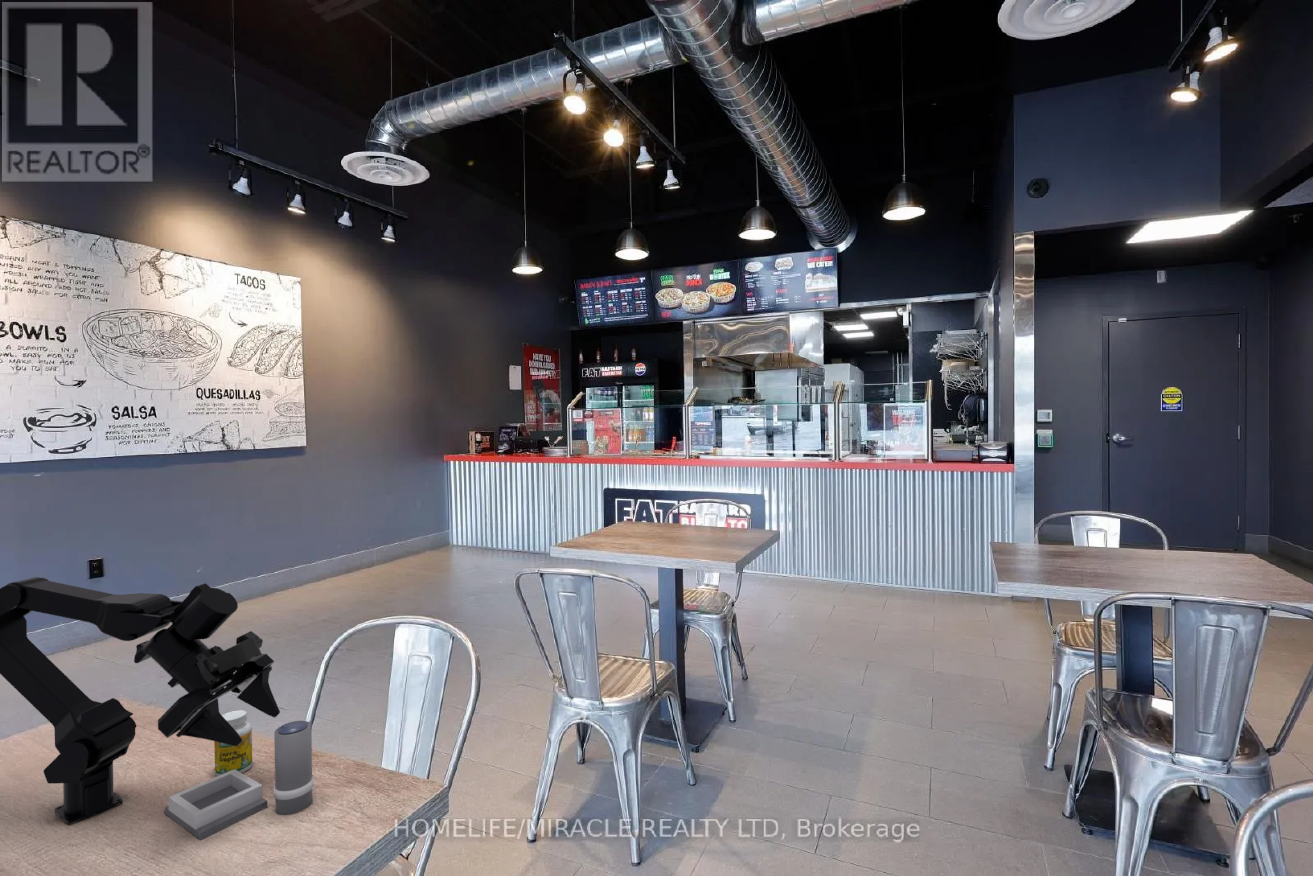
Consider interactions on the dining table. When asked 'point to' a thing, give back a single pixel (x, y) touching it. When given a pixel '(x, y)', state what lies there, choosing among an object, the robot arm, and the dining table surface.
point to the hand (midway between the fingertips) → (259, 728)
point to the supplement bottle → (235, 755)
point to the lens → (293, 767)
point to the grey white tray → (216, 803)
